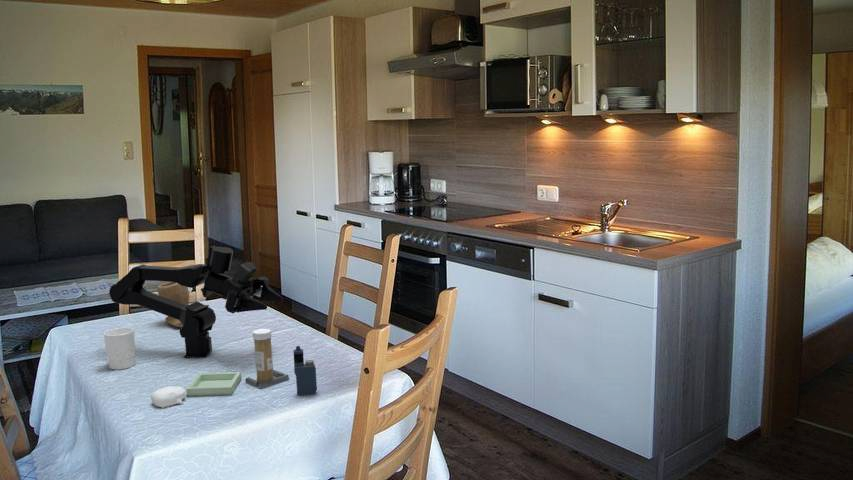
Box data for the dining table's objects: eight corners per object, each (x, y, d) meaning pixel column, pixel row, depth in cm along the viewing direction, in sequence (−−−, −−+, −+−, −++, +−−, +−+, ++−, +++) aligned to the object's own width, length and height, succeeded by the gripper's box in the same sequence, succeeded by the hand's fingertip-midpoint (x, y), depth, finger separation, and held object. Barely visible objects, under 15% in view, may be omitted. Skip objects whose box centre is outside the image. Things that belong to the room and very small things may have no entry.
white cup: (143, 362, 209) (140, 328, 208) (123, 371, 202) (120, 336, 200) (120, 360, 212) (117, 326, 210) (100, 369, 205) (97, 334, 203)
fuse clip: (245, 382, 191) (245, 378, 190) (273, 373, 197) (273, 369, 197) (260, 389, 186) (260, 384, 186) (288, 379, 192) (288, 375, 192)
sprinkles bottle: (276, 381, 191) (273, 331, 189) (260, 384, 189) (256, 334, 187) (270, 376, 195) (267, 327, 193) (253, 379, 193) (250, 330, 190)
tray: (186, 396, 182) (186, 388, 182) (199, 380, 193) (198, 373, 193) (231, 394, 183) (231, 387, 182) (241, 379, 193) (241, 372, 193)
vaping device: (296, 391, 183) (293, 345, 181) (317, 390, 184) (314, 344, 182) (295, 395, 181) (292, 348, 179) (316, 394, 181) (314, 347, 179)
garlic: (180, 394, 184) (179, 380, 184) (191, 402, 179) (190, 387, 179) (148, 403, 179) (146, 388, 178) (159, 411, 174) (157, 396, 173)
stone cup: (156, 323, 250) (152, 279, 248) (191, 316, 257) (188, 274, 254) (169, 333, 238) (165, 287, 235) (206, 326, 245) (202, 282, 242)
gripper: (212, 266, 198) (264, 284, 195) (247, 253, 216) (295, 269, 213) (205, 304, 201) (256, 322, 198) (240, 288, 219) (287, 305, 215)
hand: (274, 303), depth 206 cm, fingers open, 9 cm apart
